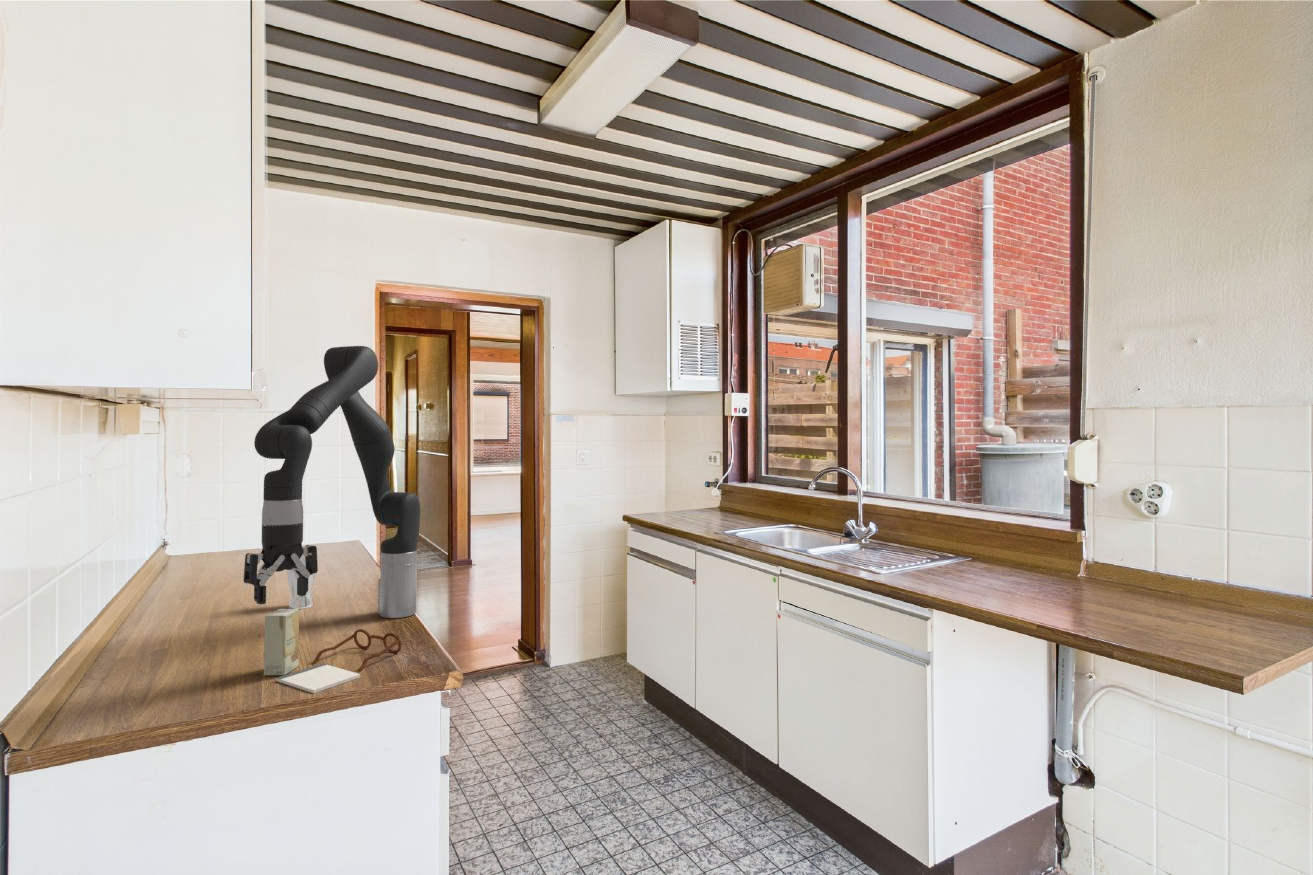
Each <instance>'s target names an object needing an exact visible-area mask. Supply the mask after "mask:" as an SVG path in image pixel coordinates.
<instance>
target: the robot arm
mask: <svg viewBox="0 0 1313 875" xmlns="http://www.w3.org/2000/svg"><path fill="white" fill-rule="evenodd" d="M323 366H324V371H325V374H326V377H327V379H328V380H326V381H325V382H323V383H321V384H318V385H317V386H315V387H313V388H311V389H310V390H308V391H307V392H306V393H304V394H303V395H302V396H301V397H299V399H298V400H297V401H296V402H295V403H294V404H293V405H292V406H291V407H290V408H289V409H288V410H286V411H284V412H282V413H280V414H279V415H277V416H275V417H274V418H272V419H271V420H269V421H267V422H266V423H265V424H263V425H262V426H261V427H260V428H259V430H258V431H257V433H256V435H255V437H254V442H253V443H254V444H253V445H254V449H255V451H256V453H257V454H258V455H259V456H261V457H262V458H264V459H265V458H266V459H269V460H270V459H272V460H273V459H274V460H275V459H276V460H284V461H283V464H282V466H281V468H280V469H276V470H271V471H268V472H267V473H265V474H264V477H263V504H262V508H261V509H262V510H261V547H262V548H261V552H260V553H253V552H251V553H250V552H247V553H245V555H244V566H243V567H244V568H243V569H244V570H243V583H244V584H247V585H248V584H249V585H252V586H253V599H254V602H256V604H257V605H262V606H263V605H265V604H266V603H267V586H266V583H267V581H268V580H269V579H270V578H271V577H272V576H273V575H274V574H275V573H276V572H277V573H278V572H283V571H287V570H294V571H295V573H296V574H297V575H298V576H299V578H297V595H299V596H305V595H306V593H307V592H308V578H309V576H310V575H312V574H313V573H315V574H317V573H318V570H319V568H318V567H319V566H318V548H317V546H316V545H310V544H306V545H305V546H303V540H304V504H303V479H304V477H305V476H304V475H305V472H306V469H307V465H308V461H309V459H310V455H311V452H312V448H313V439H312V436H311V435H313V434H314V433H316V432H317V431H318V430H319V429H320V428H321V427H323V426H322V425H323V424H325V422H326V421H327V420H328V419H329V418H330V416H331V415H332V414H333V413H334V412H335V411H336V410H337V409H338V408H339V407H340V409H341V410H342V413H343V415H344V418H345V420H346V424H347V427H348V429H349V432H350V436H351V440H352V443H353V446H354V448H355V451H356V454H357V456H358V459H359V462H360V465H361V467H362V471H363V474H364V478H365V481H366V485H367V489H368V494H369V498H370V503H371V508H372V511H373V514H374V517H375V519H376V521H377V522H378V523H379V524H380V525H381V526H389V527H397V530H396V533H395V535H394V536H392V537H390V538H386V539H384V540H382V541H381V543H380V578H379V579H378V585H377V586H378V587H377V588H378V590H377V591H378V592H377V593H378V595H377V596H378V597H377V613H378V615H380V617H382V618H386V619H399V618H400V619H401V618H406V617H411V616H413V615H415V614H416V613H417V595H418V594H417V584H418V583H417V580H418V578H417V577H418V576H417V571H418V570H417V569H418V568H417V567H418V566H417V565H418V563H417V562H418V560H417V558H418V557H417V554H418V553H417V549H418V543H419V539H420V525H421V524H420V522H421V521H420V520H421V503H420V502H421V501H420V499H419V497H418V496H417V494H416V493H413V492H401V491H400V492H399V491H396V492H395V491H392V488H391V487H390V482H389V477H388V473H389V469H390V468H391V465H392V461H393V458H394V457H395V456H394V455H395V452H396V451H395V444H394V439H393V436H392V434H391V430H390V427H389V425H388V424H387V422H386V421H385V419H384V418H383V417H382V416H381V415H380V414H379V413H378V412H377V411H376V410H375V409H374V408H372V406H371V405H369V404H368V402H367V401H366V400H365V398H363V396H362V395H361V394H360V392H359V391H360V390H361V389H363V388H364V387H365V386H367V385H368V384H370V382H371V383H372V381H373V380H374V379H375V378H376V376H377V374H378V372H379V360H378V356H377V354H376V352H375V351H374V350H373V349H372V348H371V347H369V346H365V345H352V346H351V345H350V346H349V345H348V346H335V347H330V348H328V349H327V350H326V351H325V353H324V356H323ZM303 554H304V556H305V564H306V568H305V565H304V564H303V563H302V562H301V560H300V558H301V556H302V555H303ZM261 561H262V562H263V563H262V565H261V566H260V567H259V569H258V564H260V563H261ZM411 610H412V611H413V612H412V611H411ZM413 613H414V614H413Z"/></svg>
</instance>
